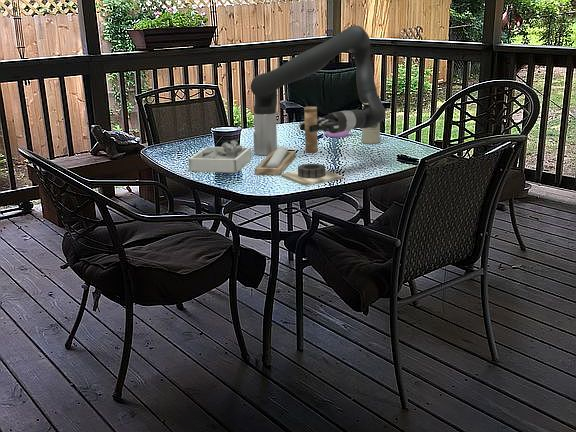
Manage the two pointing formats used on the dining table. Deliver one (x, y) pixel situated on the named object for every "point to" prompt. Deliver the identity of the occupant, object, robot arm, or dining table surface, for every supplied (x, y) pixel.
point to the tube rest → (279, 170)
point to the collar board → (313, 180)
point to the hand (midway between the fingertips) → (305, 128)
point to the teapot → (340, 134)
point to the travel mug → (370, 131)
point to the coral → (217, 154)
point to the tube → (277, 157)
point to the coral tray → (219, 161)
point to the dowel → (310, 137)
